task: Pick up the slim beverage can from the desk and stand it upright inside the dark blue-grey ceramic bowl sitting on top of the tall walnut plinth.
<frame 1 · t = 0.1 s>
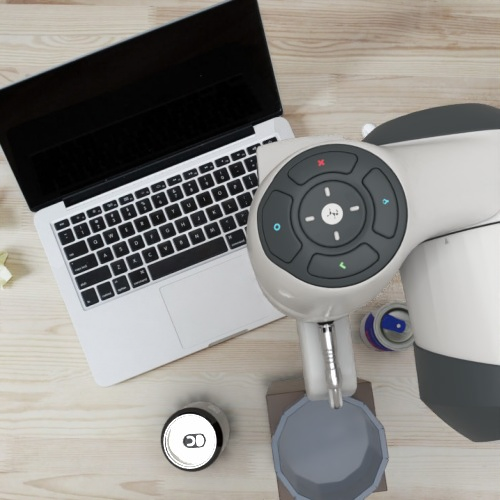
hand: (309, 279, 63), 26 cm above the table, tool pointing down, fingers open, 8 cm apart
bowl: (325, 442, 60), resting on plinth
beverage can: (379, 330, 88), on the table
plinth: (312, 415, 86), on the table
beverage can 2: (202, 429, 87), on the table
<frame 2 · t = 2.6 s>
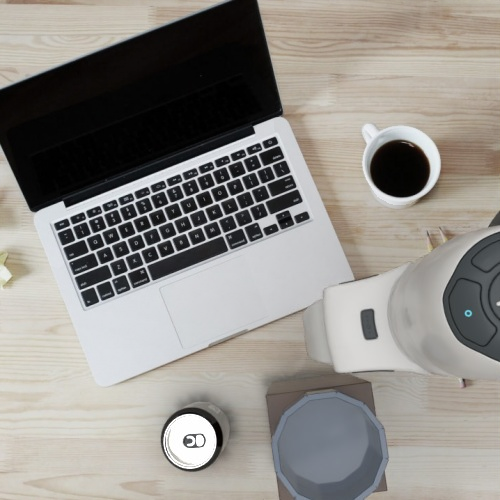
hand: (411, 322, 65), 23 cm above the table, tool pointing down, fingers open, 8 cm apart
nothing on the table moved.
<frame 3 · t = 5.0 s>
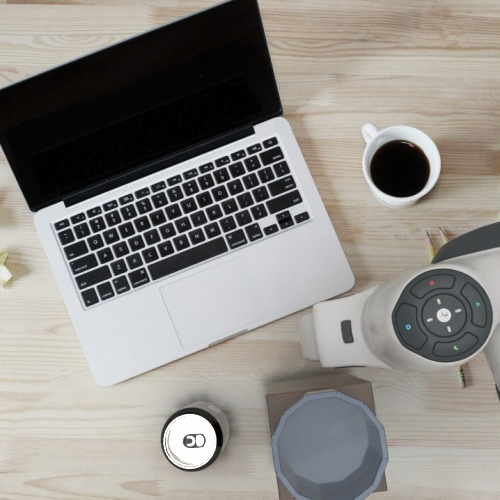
hand: (386, 329, 81), 6 cm above the table, tool pointing down, fingers closed on beverage can, 5 cm apart
beverage can: (379, 330, 88), on the table, touching gripper
everything else where it was.
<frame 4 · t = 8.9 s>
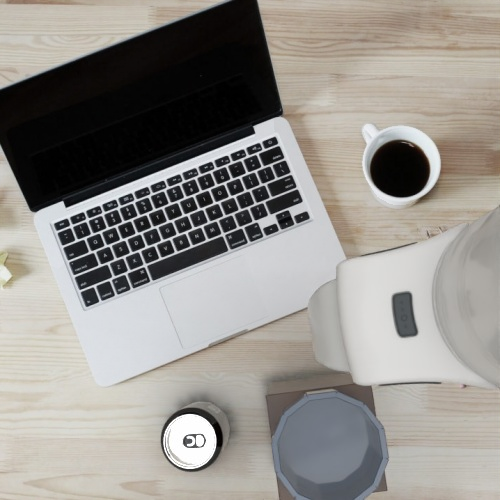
hand: (453, 314, 49), 39 cm above the table, tool pointing down, fingers closed on beverage can, 5 cm apart
beverage can: (434, 318, 55), point 33 cm above the table, touching gripper
everything else where it was.
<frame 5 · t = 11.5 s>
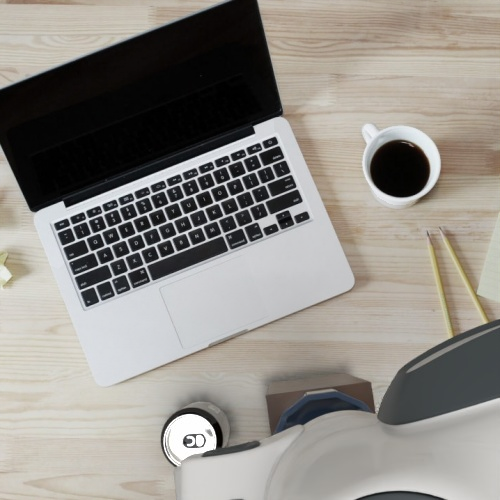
hand: (336, 461, 49), 38 cm above the table, tool pointing down, fingers closed on beverage can, 5 cm apart
beverage can: (331, 448, 55), point 31 cm above the table, touching gripper
everything else where it was.
when the fingers open (34 cm above the table, at t = 13.1 s): beverage can stays where it is, resting on bowl.
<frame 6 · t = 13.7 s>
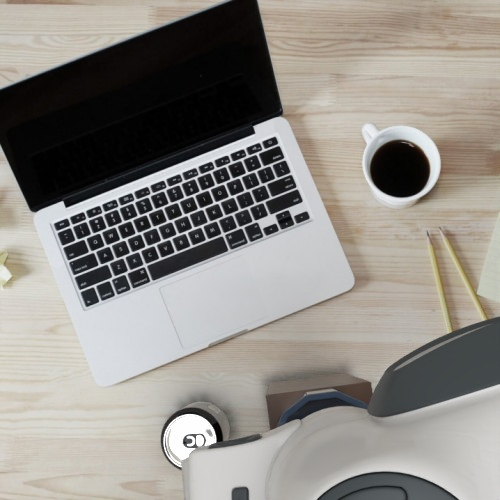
hand: (331, 454, 53), 34 cm above the table, tool pointing down, fingers open, 8 cm apart
beverage can: (328, 442, 59), point 27 cm above the table, touching bowl
everything else where it was.
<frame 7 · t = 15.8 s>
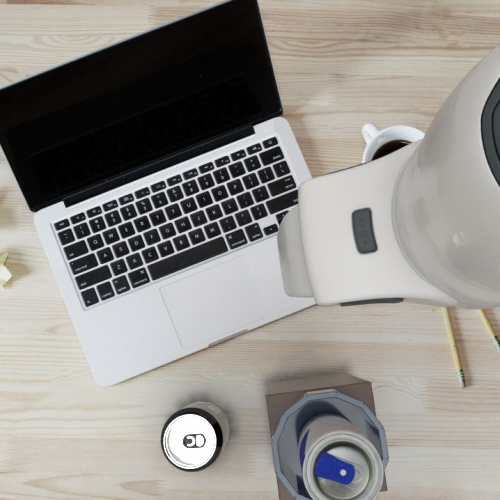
hand: (428, 254, 48), 40 cm above the table, tool pointing down, fingers open, 8 cm apart
nothing on the table moved.
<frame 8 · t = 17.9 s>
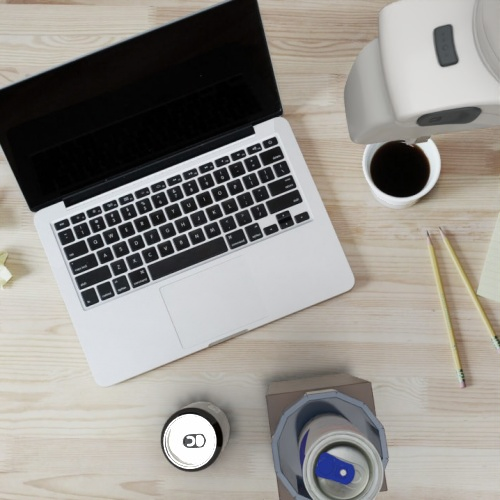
hand: (480, 124, 51), 39 cm above the table, tool pointing down, fingers open, 8 cm apart
nothing on the table moved.
at the end: beverage can 0.2 cm off-centre on the bowl, point 0.4 cm above the bowl's base; beverage can tilted 0°; the gripper is holding nothing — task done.
